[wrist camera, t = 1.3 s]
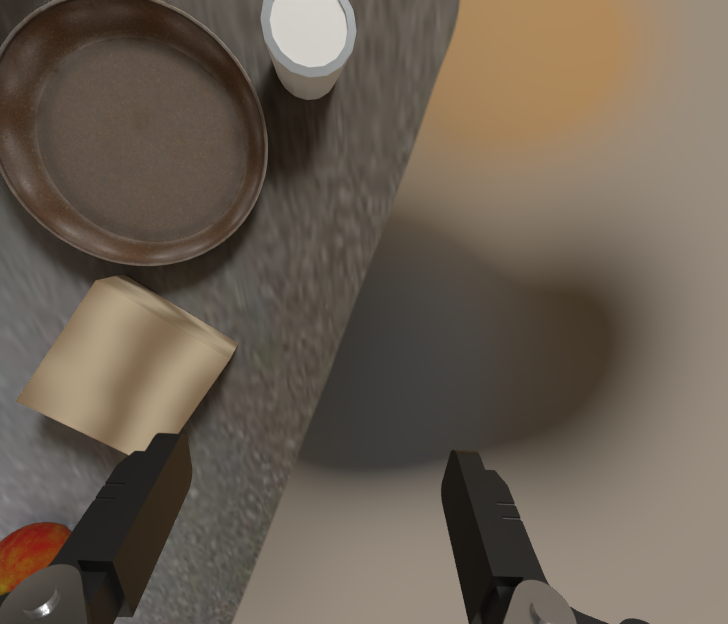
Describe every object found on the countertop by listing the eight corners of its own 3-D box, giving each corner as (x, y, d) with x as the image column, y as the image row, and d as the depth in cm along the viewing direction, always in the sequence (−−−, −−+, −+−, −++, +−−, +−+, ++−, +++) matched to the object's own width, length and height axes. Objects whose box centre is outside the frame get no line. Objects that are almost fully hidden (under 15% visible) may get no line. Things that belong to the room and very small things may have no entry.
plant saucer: (84, -49, 30) (58, -82, 27) (311, 113, 35) (312, 101, 32) (-30, 180, 32) (-67, 175, 28) (203, 303, 37) (194, 309, 34)
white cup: (346, 28, 34) (358, -23, 27) (343, 111, 35) (355, 81, 29) (267, 17, 33) (259, -39, 26) (268, 103, 34) (261, 71, 27)
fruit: (10, 561, 38) (-63, 644, 31) (20, 501, 37) (-52, 571, 30) (86, 568, 40) (35, 649, 32) (98, 510, 39) (48, 579, 31)
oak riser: (54, 378, 36) (16, 401, 31) (123, 273, 35) (95, 280, 30) (172, 438, 39) (154, 467, 34) (238, 343, 38) (230, 359, 33)
